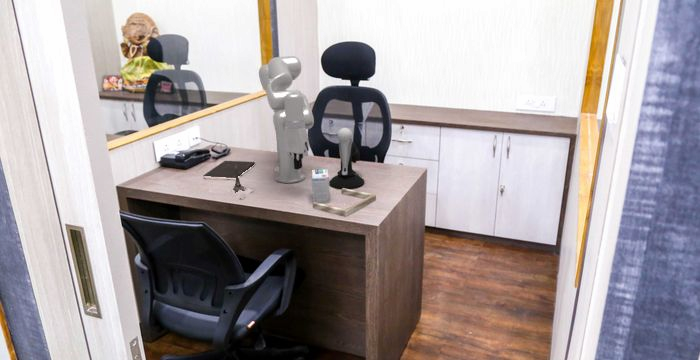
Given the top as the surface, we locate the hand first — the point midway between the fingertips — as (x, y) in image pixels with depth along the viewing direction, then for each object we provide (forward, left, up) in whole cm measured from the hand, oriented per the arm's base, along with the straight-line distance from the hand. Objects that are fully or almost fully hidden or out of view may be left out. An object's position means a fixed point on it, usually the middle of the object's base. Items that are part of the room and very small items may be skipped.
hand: (298, 168), depth 213 cm
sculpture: (+8, +24, -11) cm, 28 cm away
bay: (+23, 0, -11) cm, 25 cm away
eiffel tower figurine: (-22, -13, -12) cm, 28 cm away
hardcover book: (-48, +5, -12) cm, 50 cm away
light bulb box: (+11, 0, -11) cm, 16 cm away
